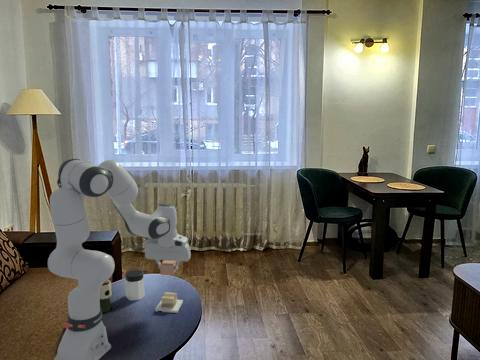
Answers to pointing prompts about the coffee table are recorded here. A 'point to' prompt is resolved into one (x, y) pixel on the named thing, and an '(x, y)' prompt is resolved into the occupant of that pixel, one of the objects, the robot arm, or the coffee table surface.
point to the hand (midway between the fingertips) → (168, 268)
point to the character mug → (105, 296)
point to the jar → (134, 285)
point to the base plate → (166, 309)
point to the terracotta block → (167, 267)
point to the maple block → (169, 299)
